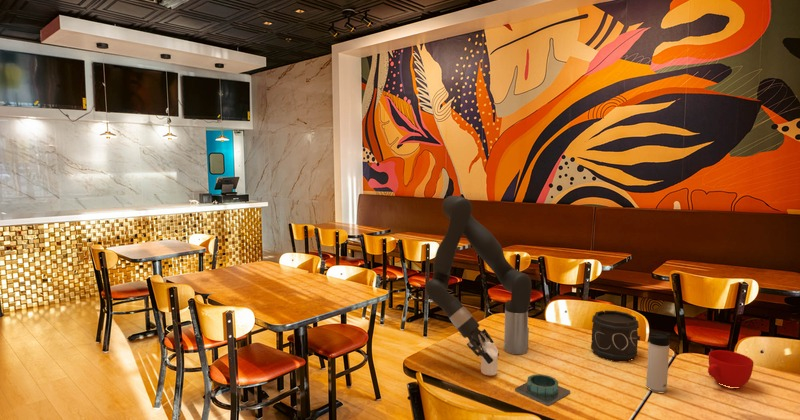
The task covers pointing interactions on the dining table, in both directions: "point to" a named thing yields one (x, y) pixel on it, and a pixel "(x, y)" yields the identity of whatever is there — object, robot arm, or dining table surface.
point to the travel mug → (658, 361)
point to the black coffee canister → (615, 335)
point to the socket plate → (543, 399)
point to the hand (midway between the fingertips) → (494, 359)
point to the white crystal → (492, 367)
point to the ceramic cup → (730, 368)
